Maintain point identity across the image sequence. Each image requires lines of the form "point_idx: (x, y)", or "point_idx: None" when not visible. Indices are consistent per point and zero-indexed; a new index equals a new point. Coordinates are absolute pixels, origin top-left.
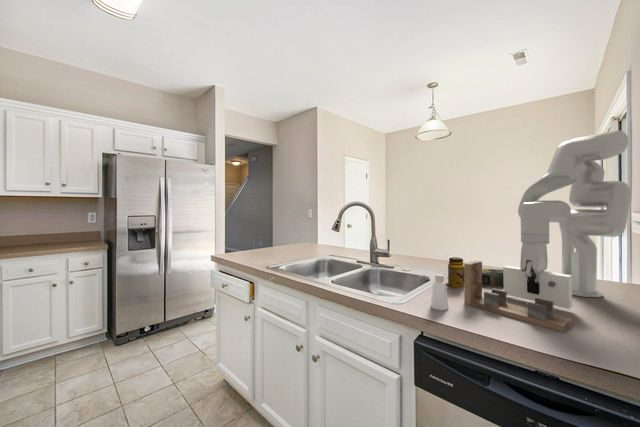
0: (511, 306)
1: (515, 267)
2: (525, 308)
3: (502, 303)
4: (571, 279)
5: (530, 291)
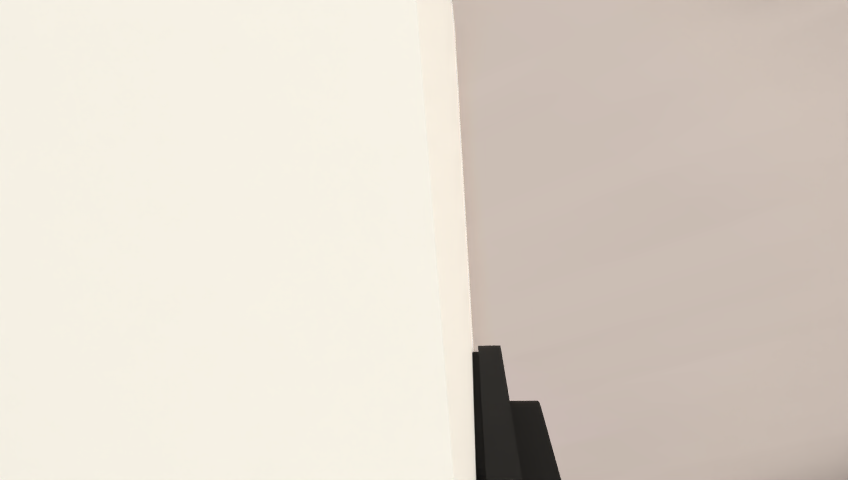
0: None
1: (171, 263)
2: None
3: None
4: None
5: None
